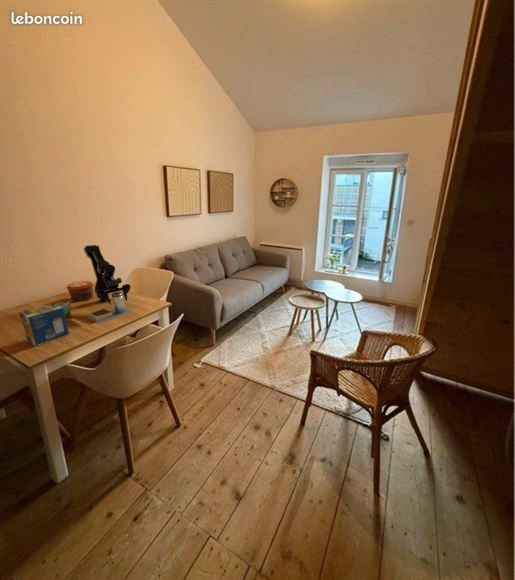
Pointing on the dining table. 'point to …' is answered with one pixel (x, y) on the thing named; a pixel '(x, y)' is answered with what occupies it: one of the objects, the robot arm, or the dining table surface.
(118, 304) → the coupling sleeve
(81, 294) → the food container
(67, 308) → the food container
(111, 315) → the tan square tray
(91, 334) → the dining table surface
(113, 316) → the board
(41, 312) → the protein box
